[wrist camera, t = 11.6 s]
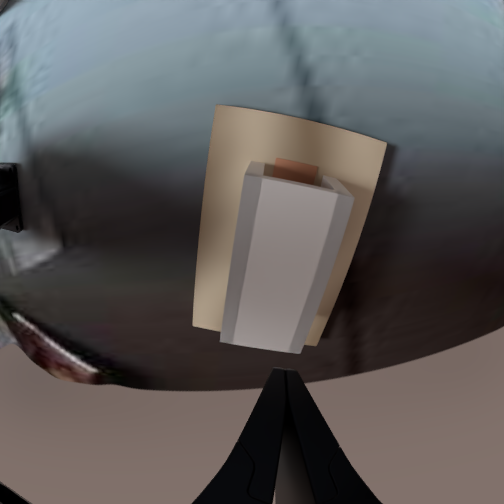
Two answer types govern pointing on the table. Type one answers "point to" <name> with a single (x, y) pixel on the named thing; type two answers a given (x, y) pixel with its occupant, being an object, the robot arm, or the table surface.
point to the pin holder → (284, 167)
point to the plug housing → (282, 258)
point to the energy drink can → (3, 4)
